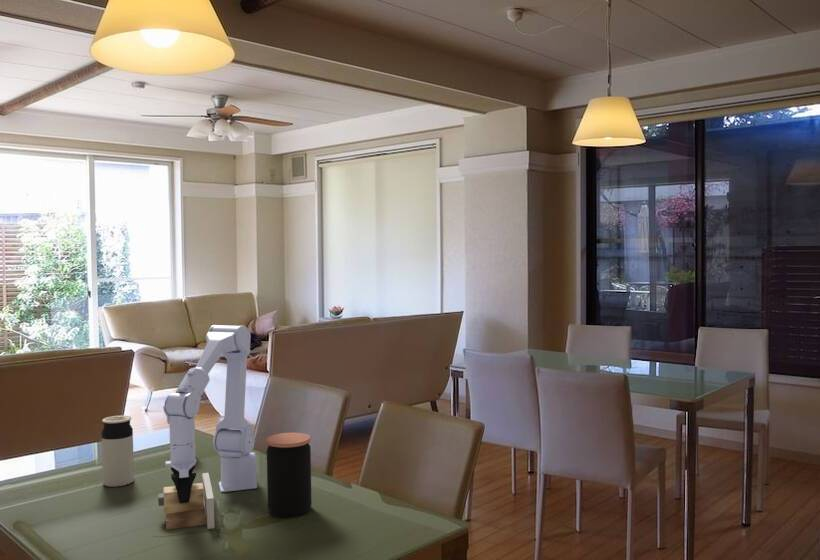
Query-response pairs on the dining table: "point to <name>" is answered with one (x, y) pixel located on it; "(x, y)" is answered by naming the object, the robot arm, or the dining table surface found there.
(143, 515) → the dining table surface
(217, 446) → the robot arm
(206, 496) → the shelf board
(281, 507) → the coffee jar
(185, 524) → the brown rectangular panel
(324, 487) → the dining table surface
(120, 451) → the travel mug
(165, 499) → the tan rectangular block
